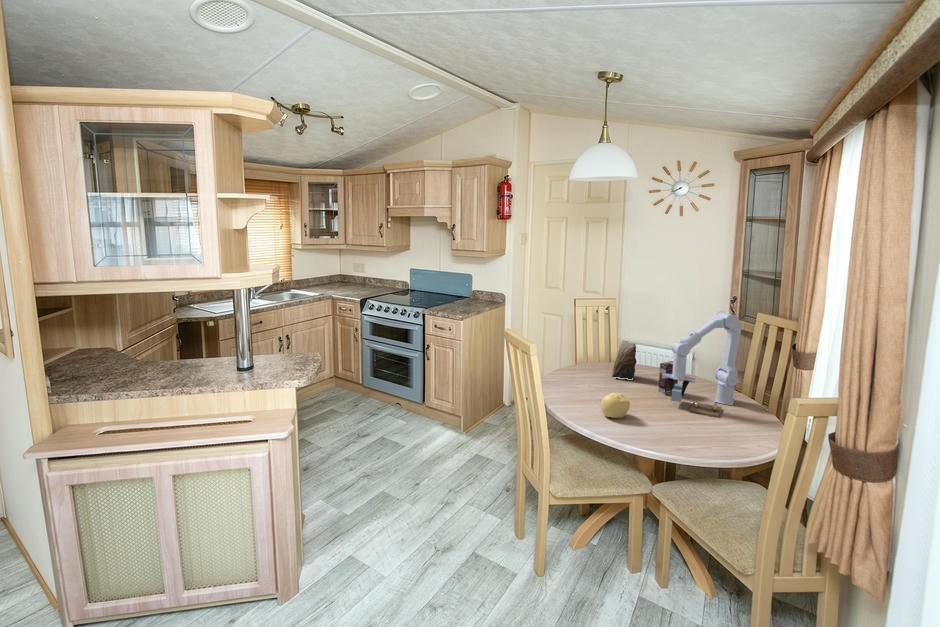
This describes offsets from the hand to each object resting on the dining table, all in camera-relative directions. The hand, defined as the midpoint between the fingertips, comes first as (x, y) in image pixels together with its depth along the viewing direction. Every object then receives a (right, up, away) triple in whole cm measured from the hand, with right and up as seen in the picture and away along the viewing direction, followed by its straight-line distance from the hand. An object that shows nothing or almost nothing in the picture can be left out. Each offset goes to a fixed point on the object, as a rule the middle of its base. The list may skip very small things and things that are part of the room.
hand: (677, 394), depth 240 cm
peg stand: (+10, -6, -8) cm, 14 cm away
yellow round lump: (-34, -8, -13) cm, 37 cm away
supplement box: (+2, -2, +16) cm, 16 cm away
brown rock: (-14, +3, +41) cm, 44 cm away
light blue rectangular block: (0, -1, 0) cm, 2 cm away
